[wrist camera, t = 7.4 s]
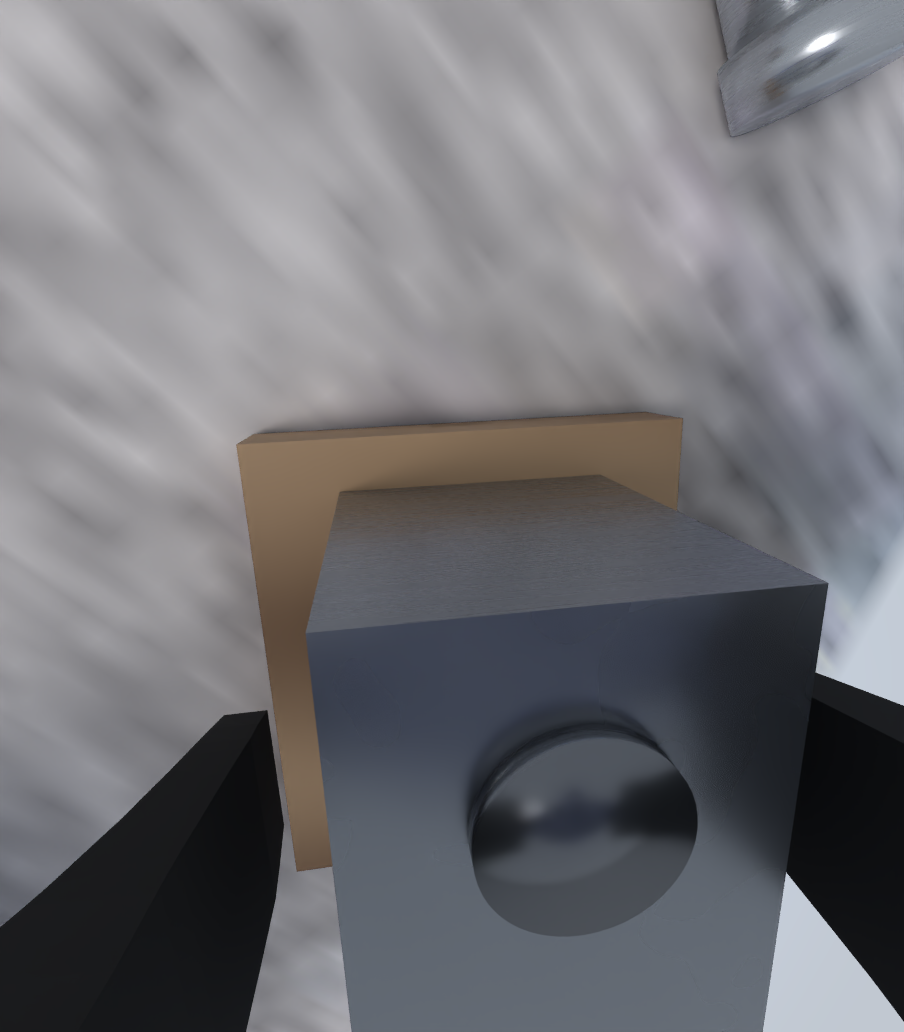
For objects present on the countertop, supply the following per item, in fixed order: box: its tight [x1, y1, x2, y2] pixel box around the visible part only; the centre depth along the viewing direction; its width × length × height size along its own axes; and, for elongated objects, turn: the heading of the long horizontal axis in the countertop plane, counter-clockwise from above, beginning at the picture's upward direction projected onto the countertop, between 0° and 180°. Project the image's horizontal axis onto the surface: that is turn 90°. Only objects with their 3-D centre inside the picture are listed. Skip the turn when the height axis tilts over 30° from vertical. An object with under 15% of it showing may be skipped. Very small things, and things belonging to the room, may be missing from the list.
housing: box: [306, 475, 828, 1032], centre depth 8 cm, size 7×5×6 cm
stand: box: [236, 412, 683, 872], centre depth 12 cm, size 9×8×2 cm
